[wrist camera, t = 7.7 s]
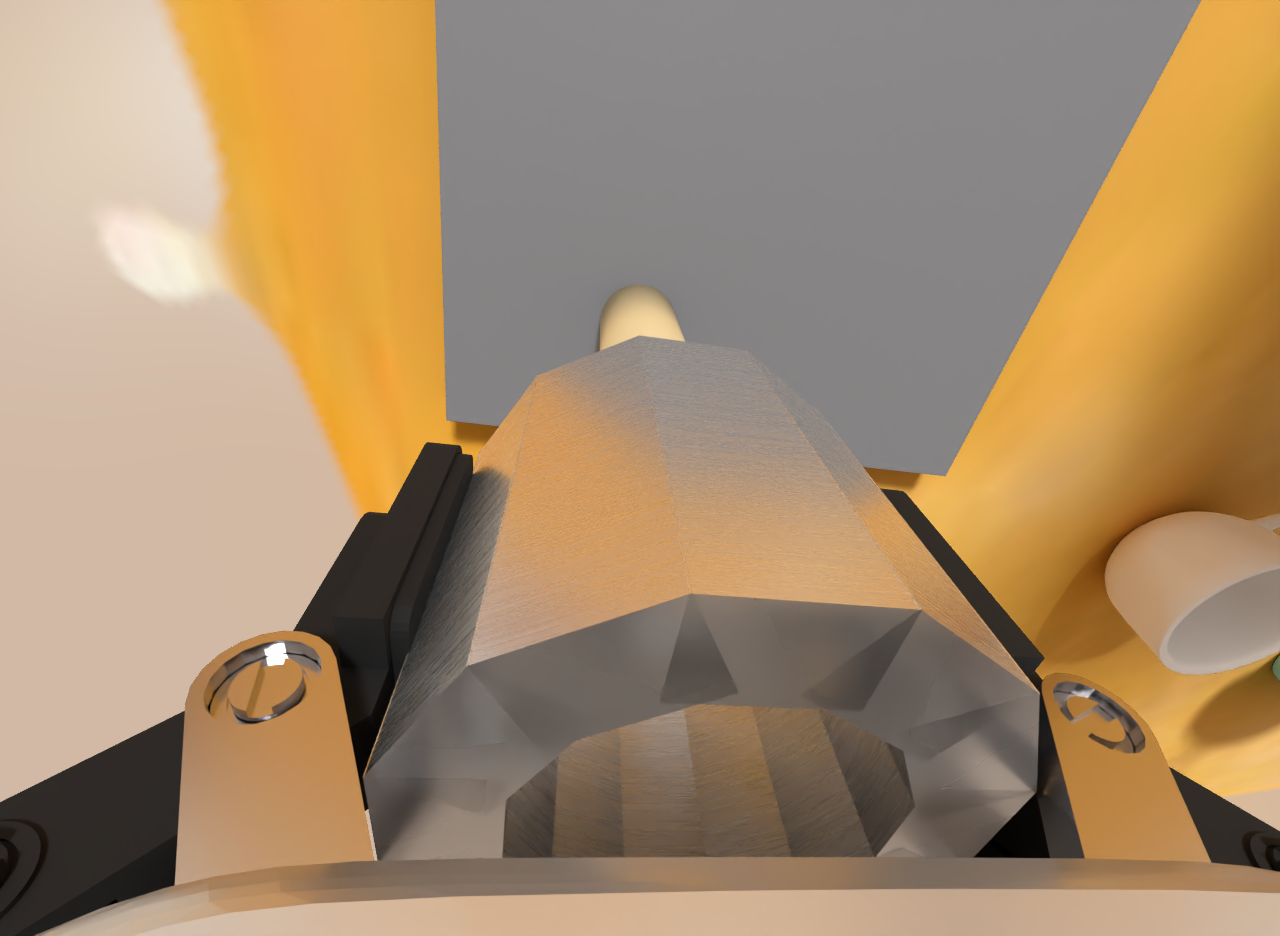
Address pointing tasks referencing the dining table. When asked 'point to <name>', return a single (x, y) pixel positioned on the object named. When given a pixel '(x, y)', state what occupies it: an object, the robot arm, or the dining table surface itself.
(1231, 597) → the teacup
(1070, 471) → the dining table surface
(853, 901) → the robot arm
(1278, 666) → the cupcake
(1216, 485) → the dining table surface
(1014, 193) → the stand
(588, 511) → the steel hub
